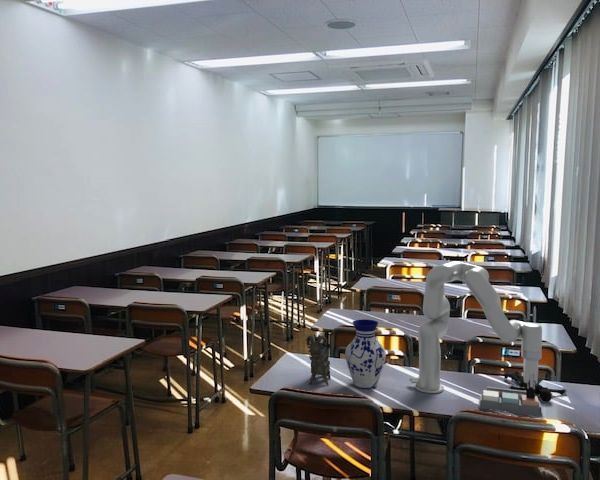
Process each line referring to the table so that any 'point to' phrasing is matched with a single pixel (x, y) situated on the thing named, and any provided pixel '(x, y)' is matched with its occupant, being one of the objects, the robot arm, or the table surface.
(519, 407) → the keypad
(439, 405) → the table surface
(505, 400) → the teal key
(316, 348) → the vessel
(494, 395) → the cream key
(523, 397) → the terracotta key
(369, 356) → the vase
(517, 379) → the toy
